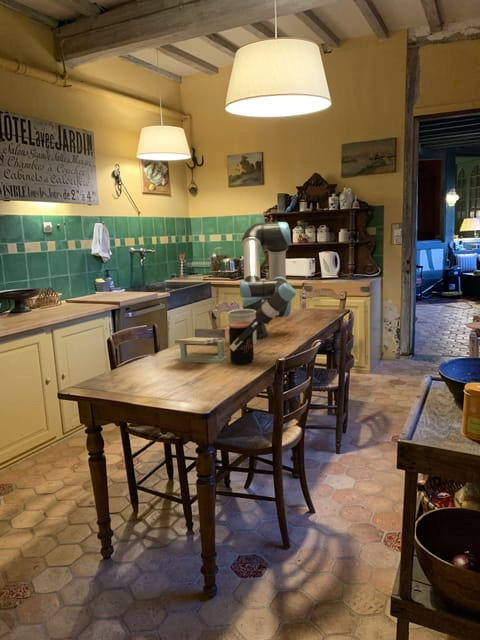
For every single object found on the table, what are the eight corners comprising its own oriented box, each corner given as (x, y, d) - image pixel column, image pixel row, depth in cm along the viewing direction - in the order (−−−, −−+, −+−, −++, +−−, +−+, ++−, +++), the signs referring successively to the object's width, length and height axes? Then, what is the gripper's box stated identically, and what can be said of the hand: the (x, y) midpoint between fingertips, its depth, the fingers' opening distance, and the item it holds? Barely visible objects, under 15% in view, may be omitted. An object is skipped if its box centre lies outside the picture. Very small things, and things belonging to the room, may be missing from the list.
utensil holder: (255, 347, 251) (253, 313, 248) (226, 347, 254) (224, 314, 251) (259, 340, 266) (258, 308, 262) (232, 340, 269) (231, 309, 265)
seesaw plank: (196, 343, 247) (196, 328, 247) (227, 344, 242) (227, 329, 242) (172, 347, 221) (173, 331, 221) (206, 348, 216) (206, 331, 216)
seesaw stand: (184, 356, 241) (183, 337, 239) (227, 358, 234) (226, 338, 232) (177, 361, 233) (176, 341, 231) (221, 363, 226) (220, 342, 224)
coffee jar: (234, 366, 220) (231, 327, 216) (228, 360, 230) (226, 322, 227) (256, 363, 223) (255, 324, 219) (250, 357, 233) (248, 320, 229)
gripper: (266, 323, 207) (233, 358, 215) (279, 313, 228) (248, 345, 236) (253, 311, 207) (220, 346, 215) (267, 302, 229) (237, 334, 237)
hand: (235, 345), depth 226 cm, fingers closed on coffee jar, 11 cm apart
